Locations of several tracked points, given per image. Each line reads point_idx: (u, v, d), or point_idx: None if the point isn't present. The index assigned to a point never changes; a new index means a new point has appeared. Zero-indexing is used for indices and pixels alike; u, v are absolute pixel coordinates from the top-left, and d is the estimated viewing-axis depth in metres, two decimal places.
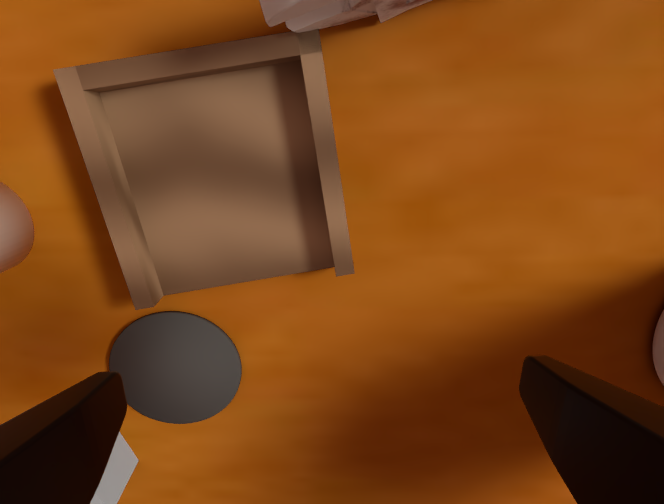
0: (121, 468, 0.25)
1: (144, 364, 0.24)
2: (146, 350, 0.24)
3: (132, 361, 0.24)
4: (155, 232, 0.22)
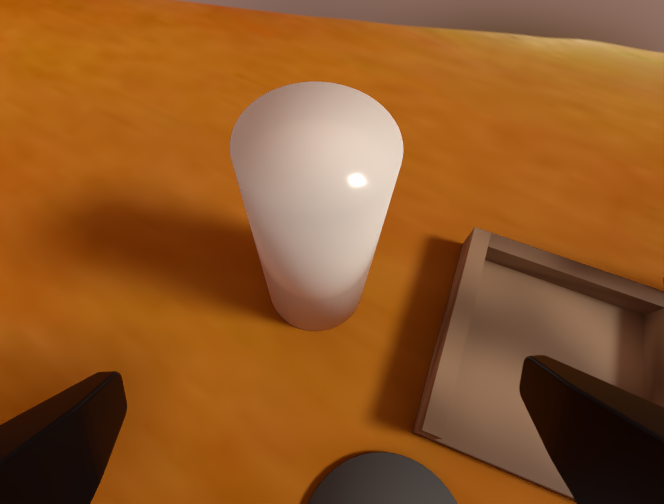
0: None
1: None
2: (370, 496, 0.19)
3: (345, 499, 0.19)
4: (463, 373, 0.21)
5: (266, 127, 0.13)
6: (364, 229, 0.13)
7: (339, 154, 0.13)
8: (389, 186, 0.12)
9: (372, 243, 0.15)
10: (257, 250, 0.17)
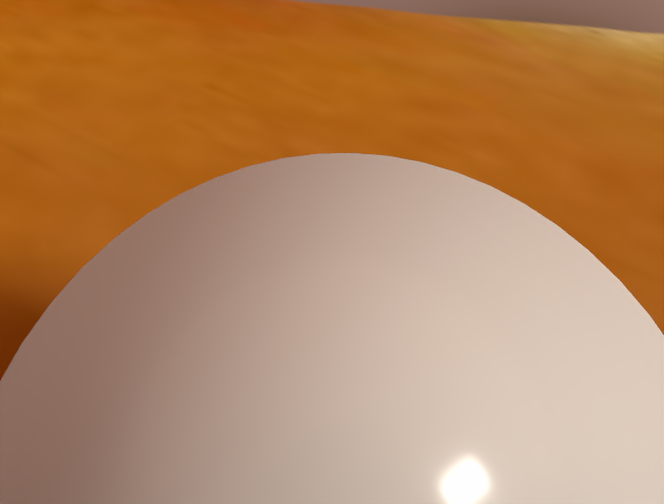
0: None
1: None
2: None
3: None
4: None
5: (144, 370, 0.03)
6: None
7: None
8: None
9: None
10: None
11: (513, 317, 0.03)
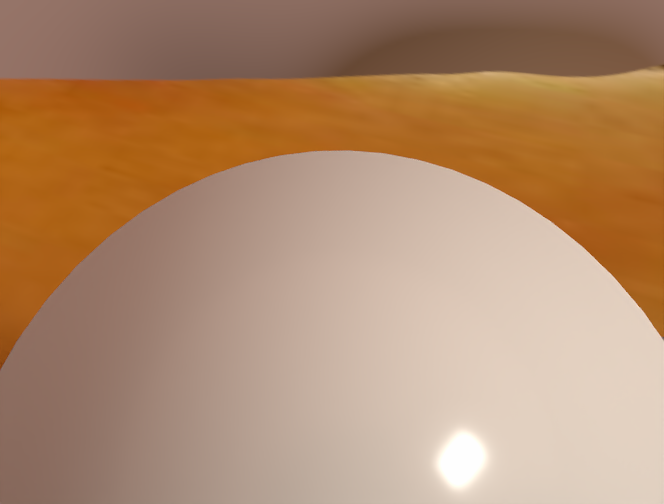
0: None
1: None
2: None
3: None
4: None
5: (139, 366, 0.03)
6: None
7: None
8: None
9: None
10: None
11: (507, 313, 0.03)
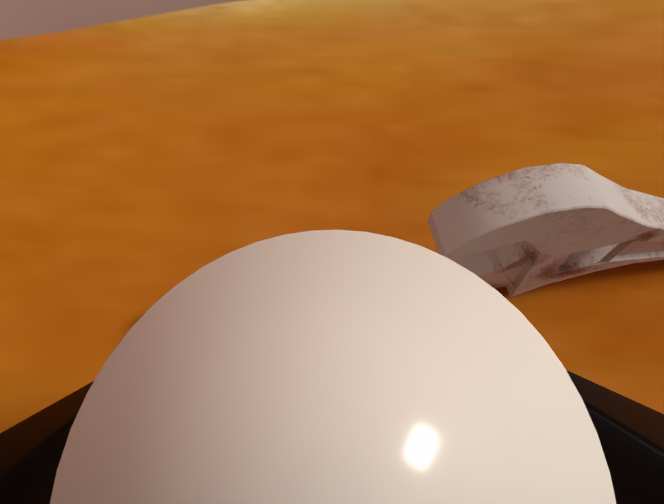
0: None
1: None
2: None
3: None
4: None
5: (179, 412, 0.04)
6: None
7: None
8: None
9: None
10: None
11: (458, 368, 0.04)
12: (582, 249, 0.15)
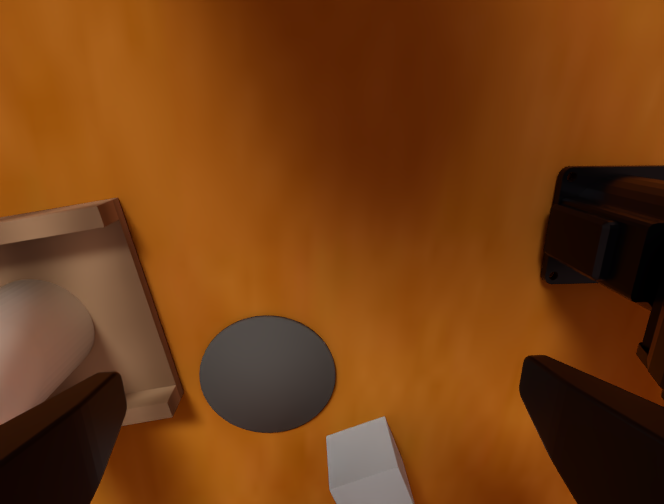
0: (374, 438, 0.24)
1: (260, 404, 0.24)
2: (244, 401, 0.24)
3: (257, 413, 0.24)
4: None
5: None
6: None
7: None
8: None
9: None
10: None
11: None
12: None
